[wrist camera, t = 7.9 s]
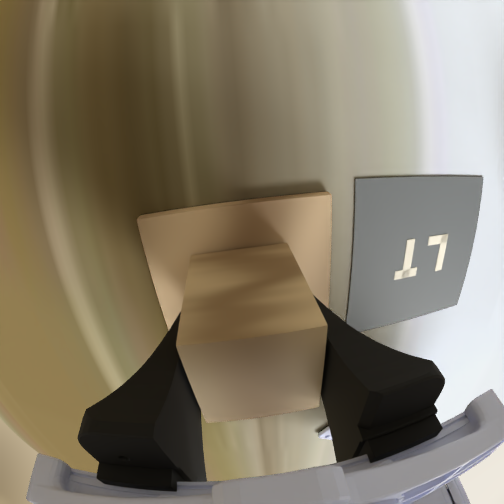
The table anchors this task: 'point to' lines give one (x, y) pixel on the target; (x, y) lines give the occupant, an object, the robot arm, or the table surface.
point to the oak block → (251, 334)
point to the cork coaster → (237, 239)
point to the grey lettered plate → (410, 246)
